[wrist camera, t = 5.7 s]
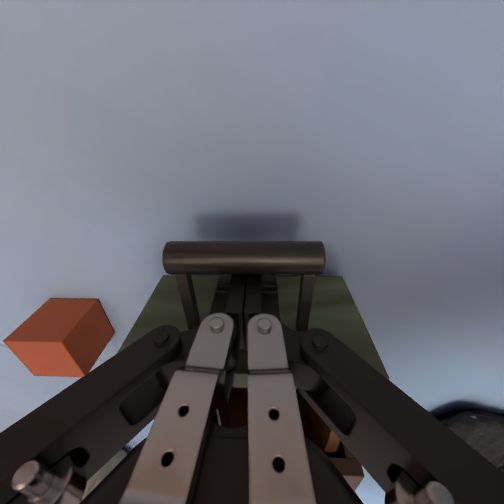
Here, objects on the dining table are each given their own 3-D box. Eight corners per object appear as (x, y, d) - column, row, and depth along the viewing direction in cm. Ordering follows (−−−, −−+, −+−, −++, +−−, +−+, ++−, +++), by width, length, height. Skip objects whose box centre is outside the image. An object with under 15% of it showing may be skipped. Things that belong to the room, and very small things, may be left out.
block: (49, 298, 21) (1, 341, 17) (98, 298, 20) (61, 342, 17) (71, 332, 23) (33, 376, 19) (115, 332, 23) (85, 377, 19)
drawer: (143, 206, 15) (52, 282, 8) (358, 204, 14) (436, 285, 8) (193, 383, 25) (170, 476, 19) (317, 387, 25) (336, 484, 18)
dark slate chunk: (474, 385, 25) (515, 440, 21) (601, 434, 29) (655, 487, 25) (374, 438, 32) (390, 486, 28) (487, 471, 37) (514, 516, 33)
